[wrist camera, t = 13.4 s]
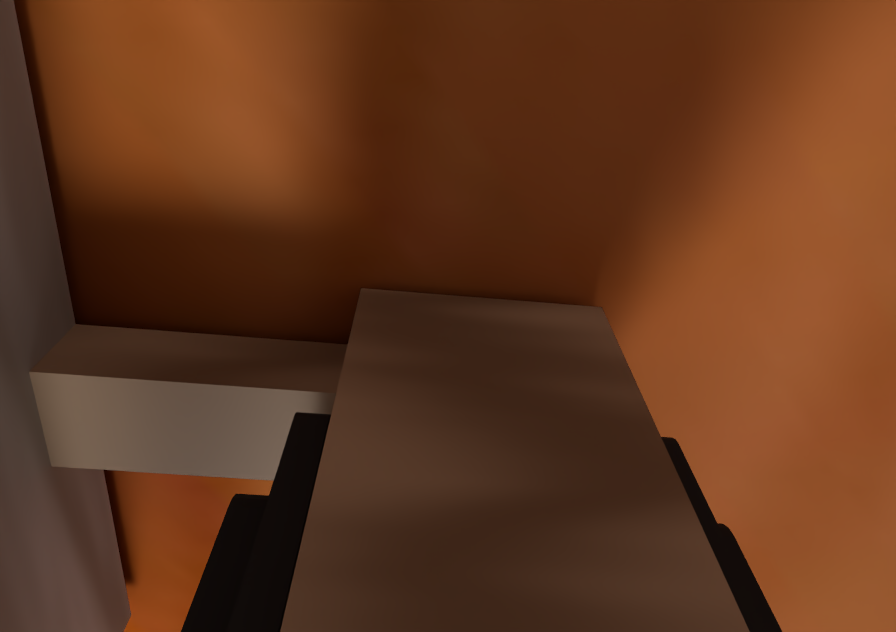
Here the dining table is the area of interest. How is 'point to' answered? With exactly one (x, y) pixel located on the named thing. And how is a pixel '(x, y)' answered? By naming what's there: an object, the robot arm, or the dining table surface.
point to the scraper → (342, 450)
